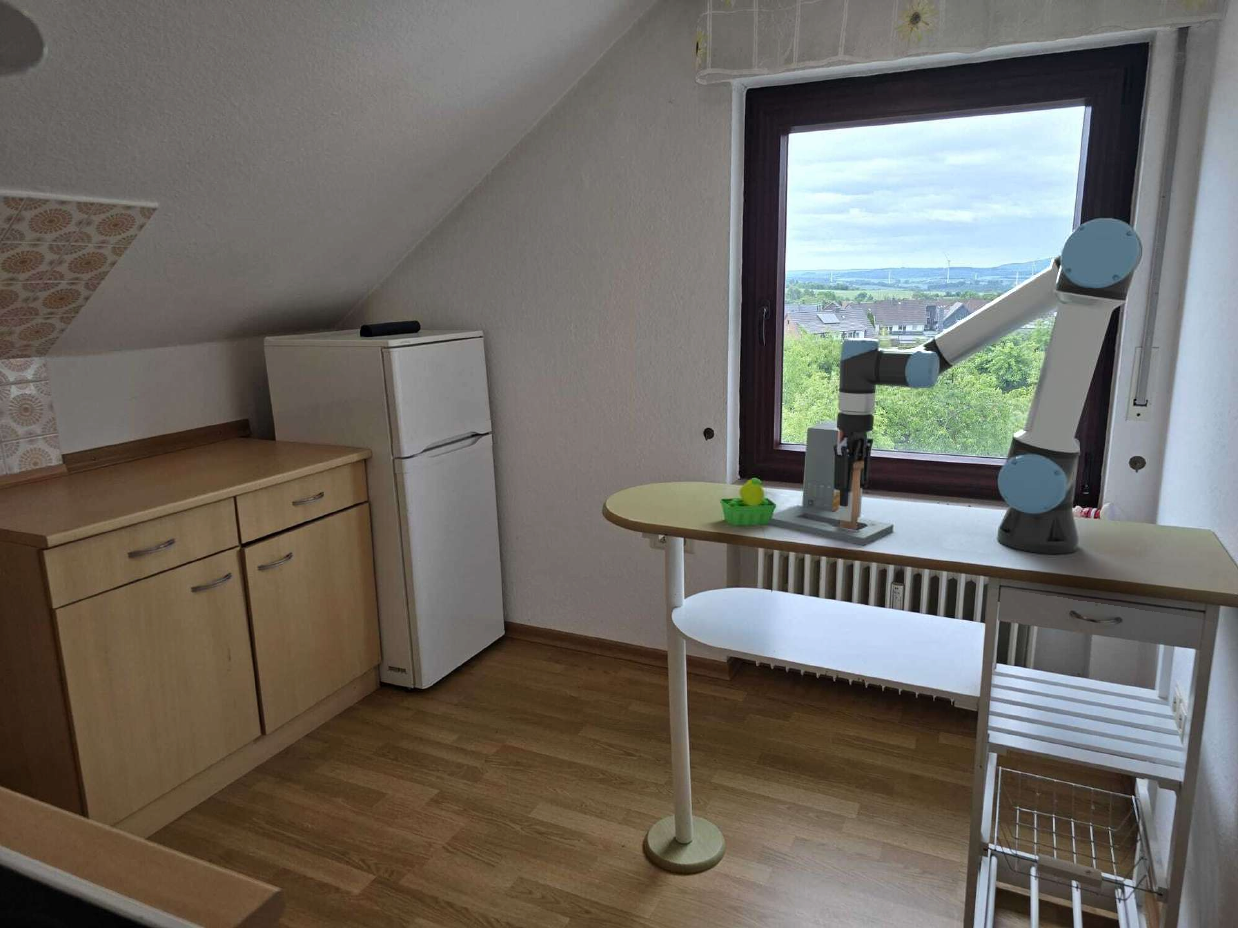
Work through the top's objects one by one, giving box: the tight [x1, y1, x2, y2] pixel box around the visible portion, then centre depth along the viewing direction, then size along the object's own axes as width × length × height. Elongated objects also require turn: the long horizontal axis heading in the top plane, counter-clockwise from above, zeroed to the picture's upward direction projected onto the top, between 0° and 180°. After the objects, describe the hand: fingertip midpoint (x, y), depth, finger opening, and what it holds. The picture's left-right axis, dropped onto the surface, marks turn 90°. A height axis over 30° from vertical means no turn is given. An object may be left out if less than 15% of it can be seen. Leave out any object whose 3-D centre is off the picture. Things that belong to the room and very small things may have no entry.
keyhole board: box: [767, 504, 894, 546], centre depth 187 cm, size 24×14×2 cm, turn 47°
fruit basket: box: [719, 477, 777, 527], centre depth 190 cm, size 11×9×11 cm
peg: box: [839, 460, 864, 530], centre depth 182 cm, size 5×5×15 cm
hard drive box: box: [801, 419, 849, 512], centre depth 204 cm, size 16×8×20 cm, turn 150°
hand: (849, 517), depth 183 cm, fingers closed on peg, 4 cm apart
